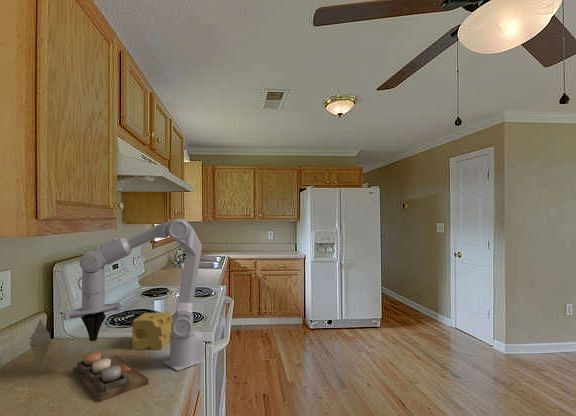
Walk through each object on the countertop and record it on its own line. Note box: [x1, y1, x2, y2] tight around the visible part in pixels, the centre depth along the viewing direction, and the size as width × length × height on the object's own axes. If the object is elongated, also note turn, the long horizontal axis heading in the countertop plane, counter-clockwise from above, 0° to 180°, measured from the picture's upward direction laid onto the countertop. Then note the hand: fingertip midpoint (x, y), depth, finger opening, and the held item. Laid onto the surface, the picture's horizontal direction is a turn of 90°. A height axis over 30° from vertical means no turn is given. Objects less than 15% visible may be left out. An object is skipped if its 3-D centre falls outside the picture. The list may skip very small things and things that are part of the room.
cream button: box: [92, 358, 111, 373], centre depth 97 cm, size 4×4×2 cm
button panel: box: [72, 355, 149, 402], centre depth 98 cm, size 12×22×3 cm, turn 46°
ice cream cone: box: [29, 318, 52, 372], centre depth 103 cm, size 5×5×15 cm
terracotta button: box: [83, 351, 103, 365], centre depth 101 cm, size 4×4×2 cm
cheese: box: [131, 311, 173, 351], centre depth 124 cm, size 10×11×10 cm
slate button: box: [102, 366, 121, 381], centre depth 92 cm, size 4×4×2 cm
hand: (93, 340), depth 102 cm, fingers closed
